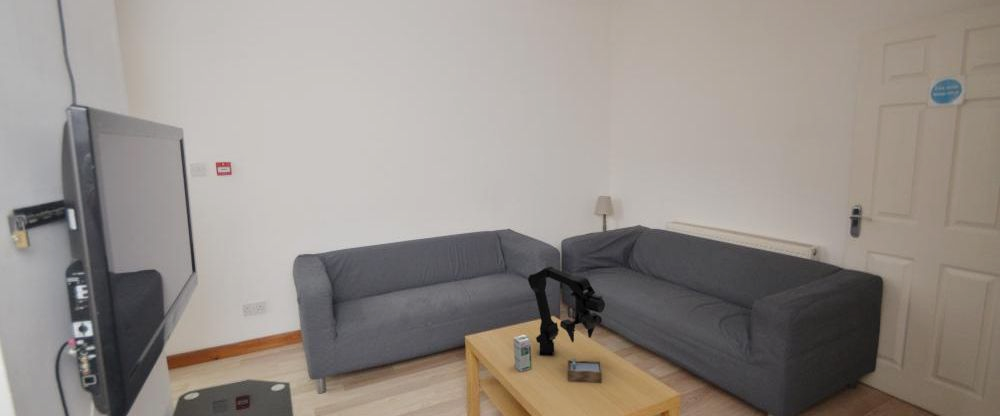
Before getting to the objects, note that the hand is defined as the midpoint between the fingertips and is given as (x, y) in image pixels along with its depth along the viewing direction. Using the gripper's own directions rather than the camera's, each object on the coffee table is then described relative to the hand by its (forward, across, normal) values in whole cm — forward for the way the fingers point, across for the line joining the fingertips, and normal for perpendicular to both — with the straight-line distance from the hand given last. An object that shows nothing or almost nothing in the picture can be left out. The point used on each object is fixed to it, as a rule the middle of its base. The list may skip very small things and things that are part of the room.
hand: (581, 339), depth 200 cm
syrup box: (+13, -24, +12) cm, 29 cm away
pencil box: (+13, -4, -7) cm, 15 cm away
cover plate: (+9, -4, -8) cm, 13 cm away
